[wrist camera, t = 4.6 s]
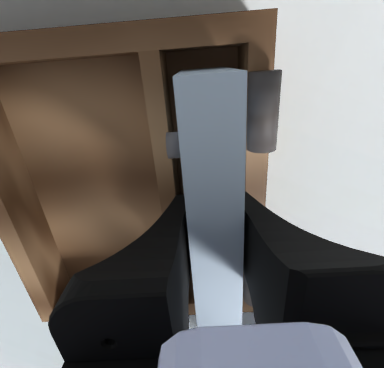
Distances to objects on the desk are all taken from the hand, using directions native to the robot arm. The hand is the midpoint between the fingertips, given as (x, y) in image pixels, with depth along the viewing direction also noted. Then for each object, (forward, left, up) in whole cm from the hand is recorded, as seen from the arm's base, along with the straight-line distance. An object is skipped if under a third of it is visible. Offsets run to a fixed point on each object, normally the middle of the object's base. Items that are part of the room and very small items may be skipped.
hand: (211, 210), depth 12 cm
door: (0, 0, -3) cm, 3 cm away
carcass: (0, +4, -4) cm, 6 cm away
